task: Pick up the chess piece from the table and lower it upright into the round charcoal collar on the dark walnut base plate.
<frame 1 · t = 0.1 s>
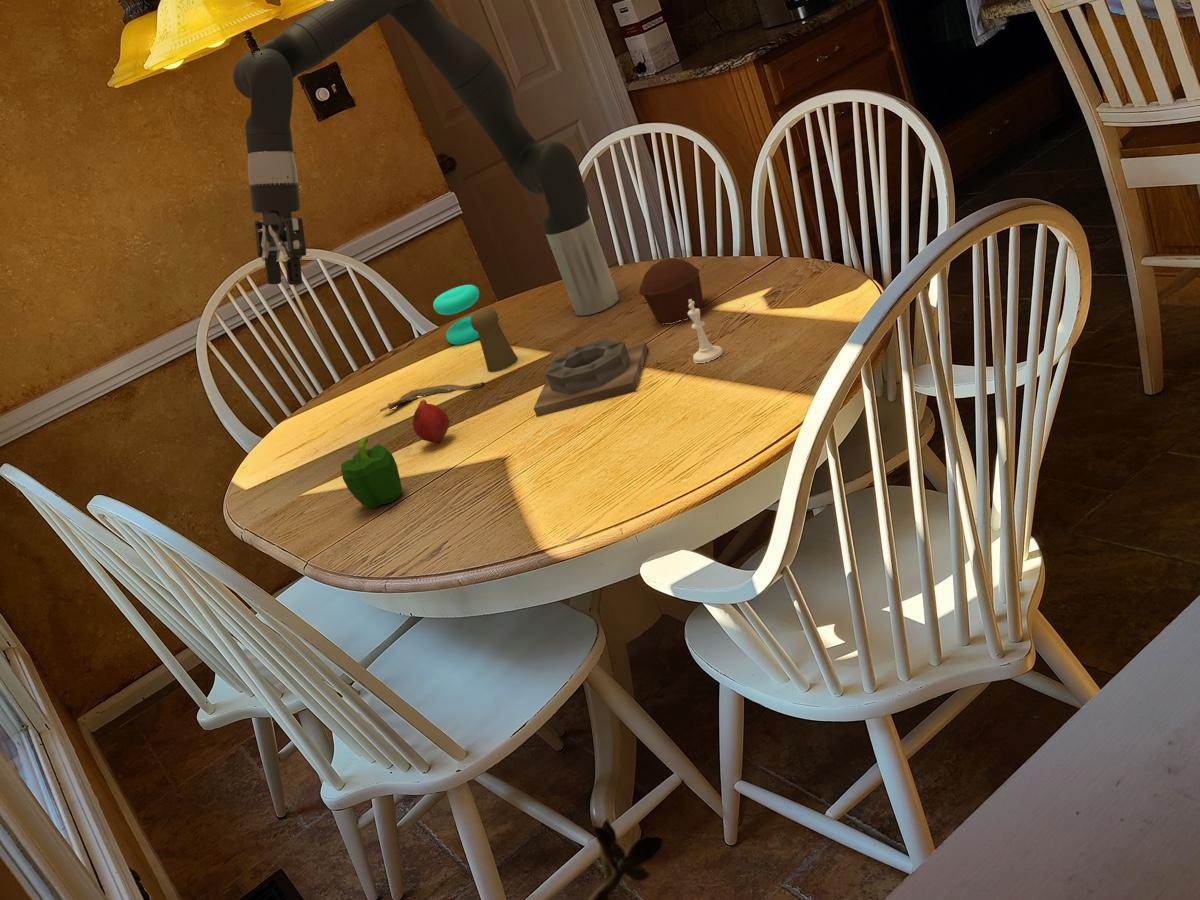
hand: (284, 284, 181), 31 cm above the table, tool tilted 20°, fingers open, 8 cm apart
muffin: (680, 315, 200), on the table
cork: (503, 365, 209), on the table
donuts: (472, 337, 233), on the table
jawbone: (433, 403, 205), on the table
onion: (440, 443, 184), on the table
collar socket: (593, 381, 185), on the table
chess piece: (708, 357, 177), on the table
bell pepper: (386, 500, 171), on the table
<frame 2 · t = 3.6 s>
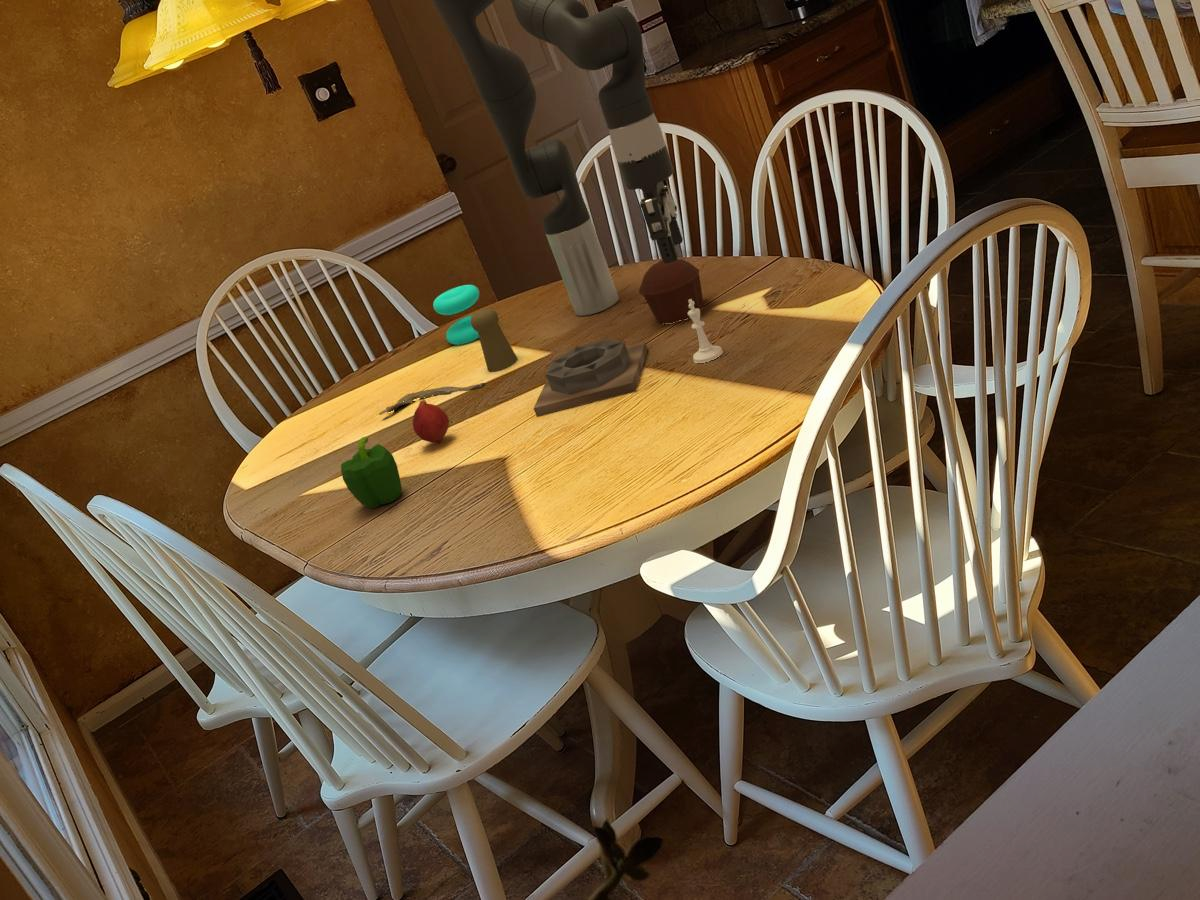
hand: (674, 252, 170), 18 cm above the table, tool pointing down, fingers open, 8 cm apart
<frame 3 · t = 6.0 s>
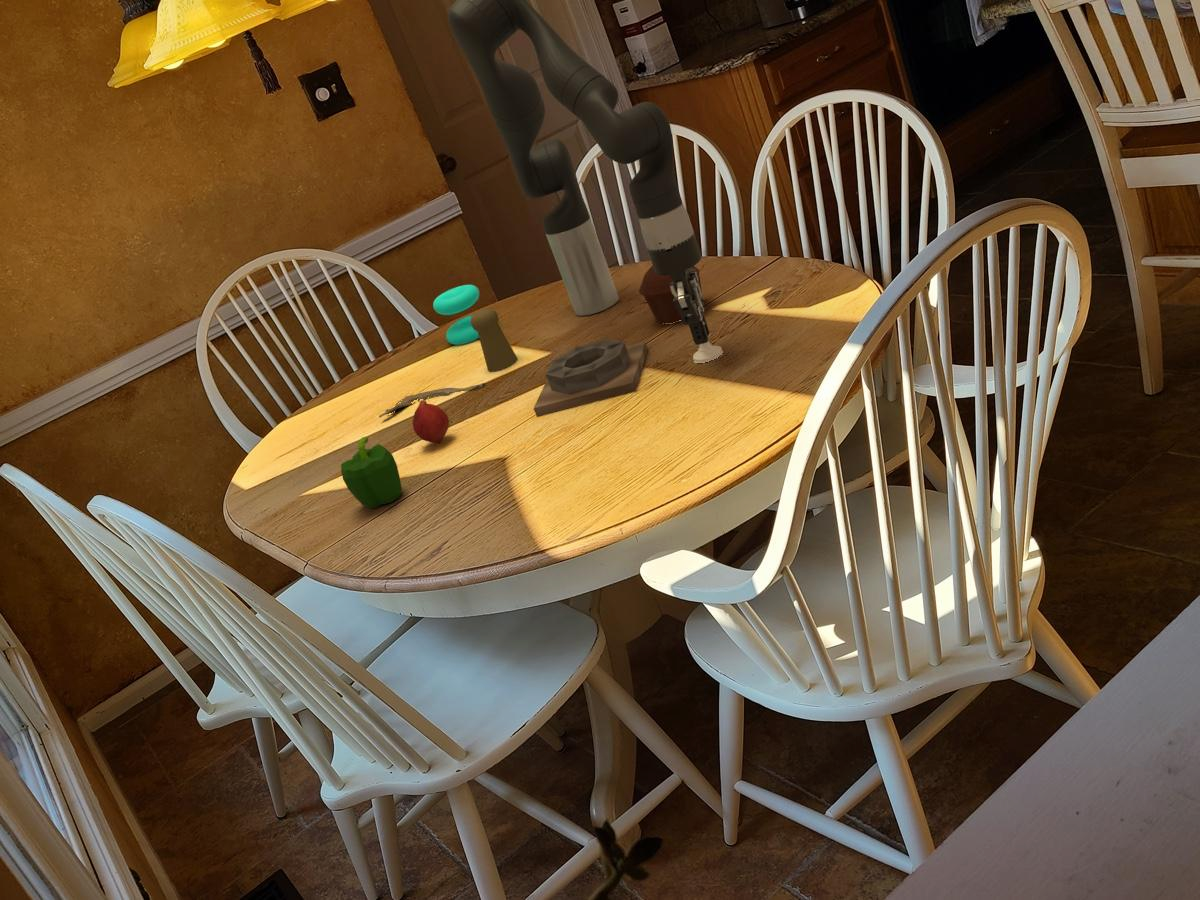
hand: (702, 339, 176), 3 cm above the table, tool pointing down, fingers closed on chess piece
chess piece: (708, 357, 177), on the table, touching gripper
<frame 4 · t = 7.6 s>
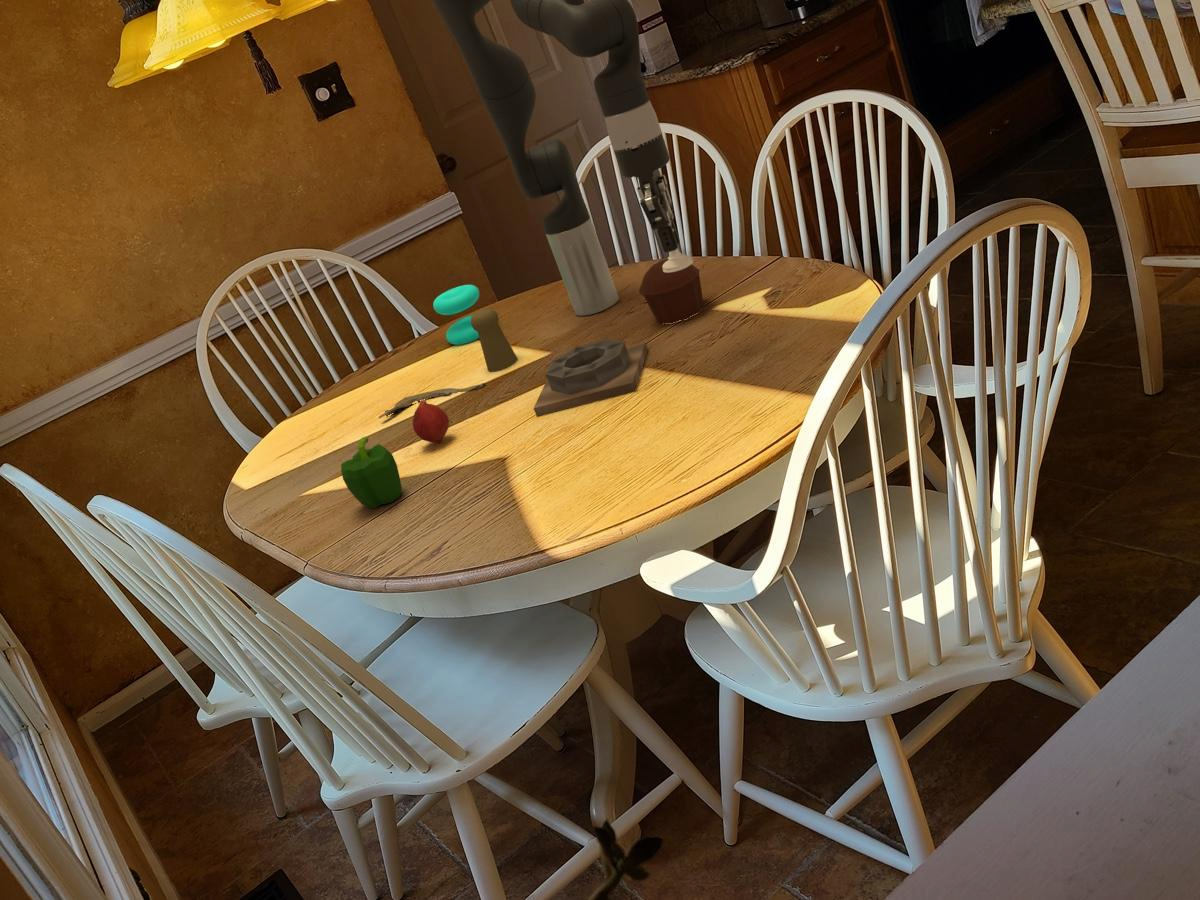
hand: (672, 247, 170), 19 cm above the table, tool pointing down, fingers closed on chess piece
chess piece: (678, 267, 171), point 15 cm above the table, touching gripper
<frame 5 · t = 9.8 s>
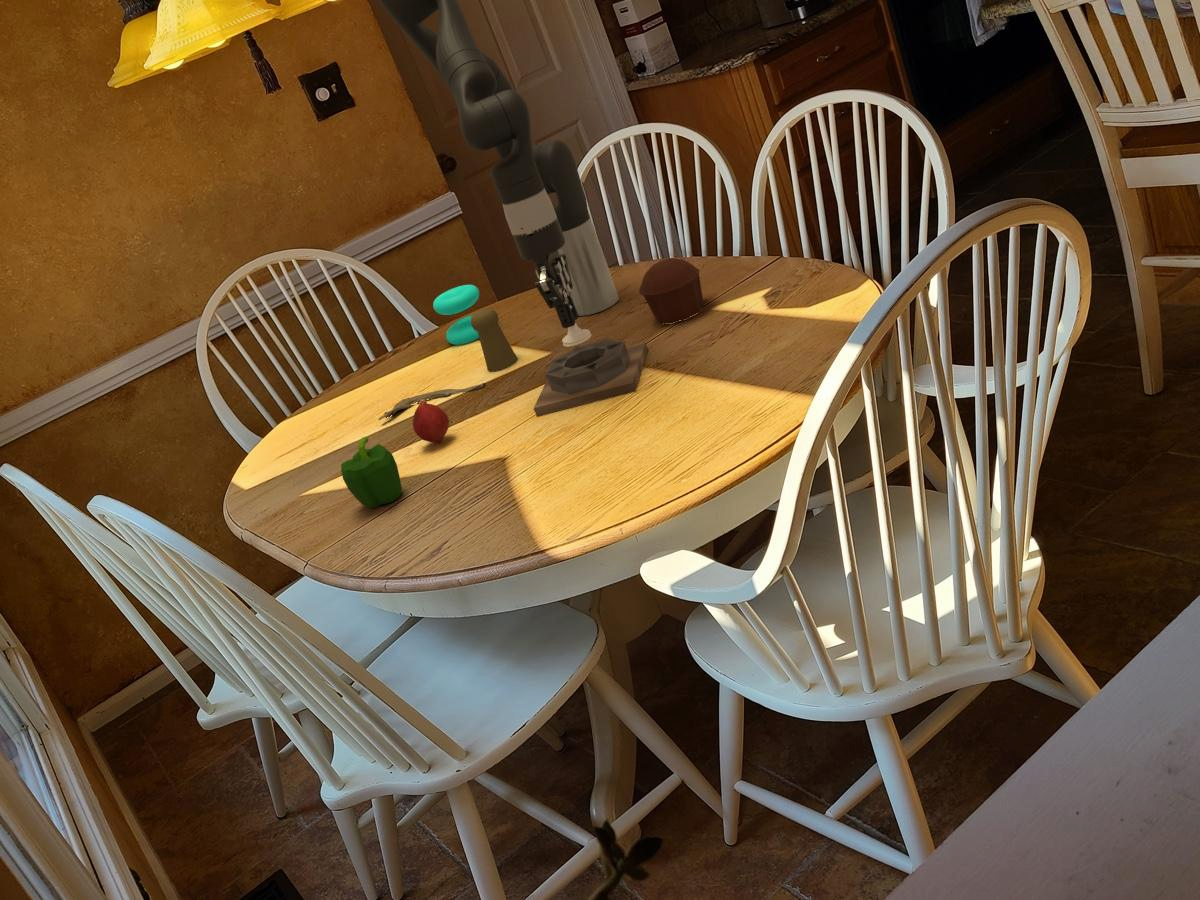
hand: (571, 322, 181), 11 cm above the table, tool pointing down, fingers closed on chess piece
chess piece: (577, 340, 182), point 8 cm above the table, touching gripper
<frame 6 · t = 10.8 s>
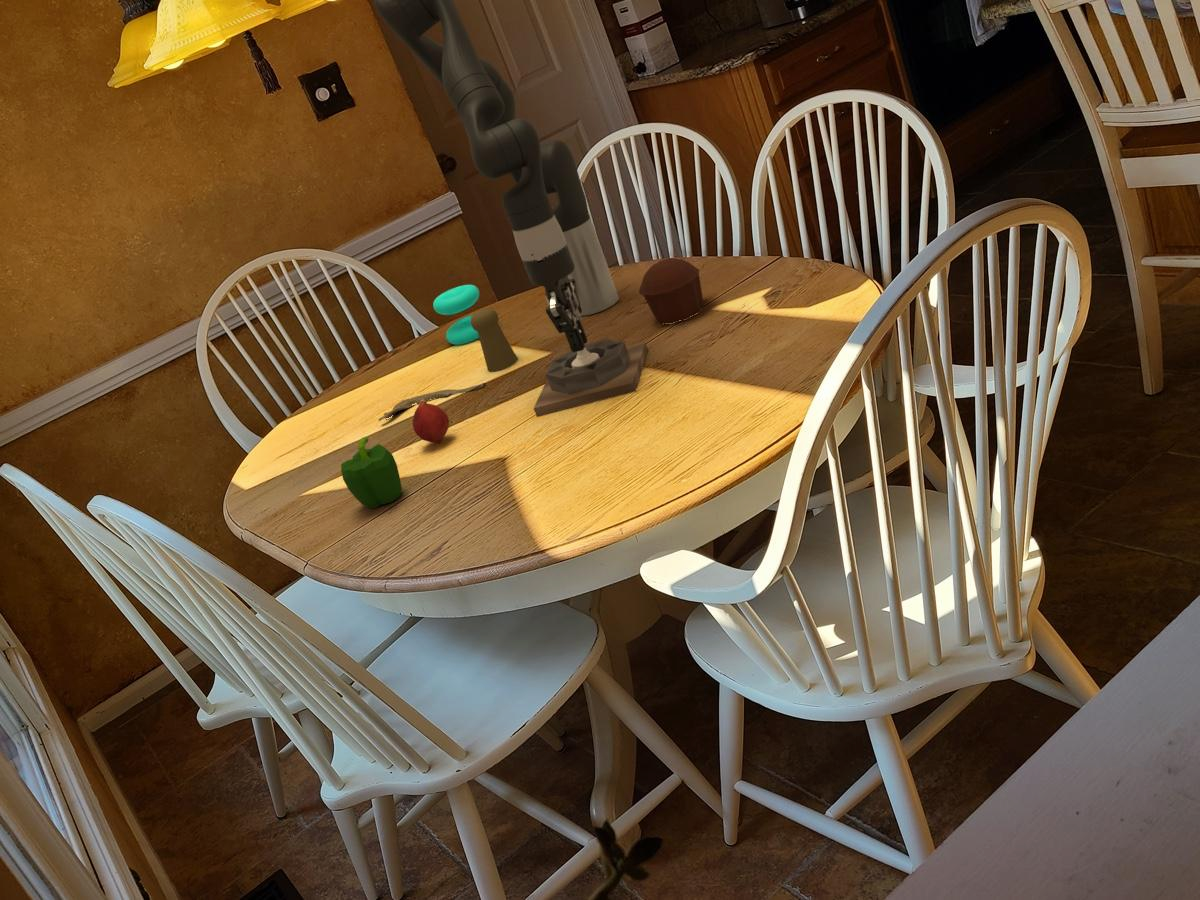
hand: (580, 346, 182), 7 cm above the table, tool pointing down, fingers closed on chess piece
chess piece: (586, 364, 184), point 3 cm above the table, touching gripper
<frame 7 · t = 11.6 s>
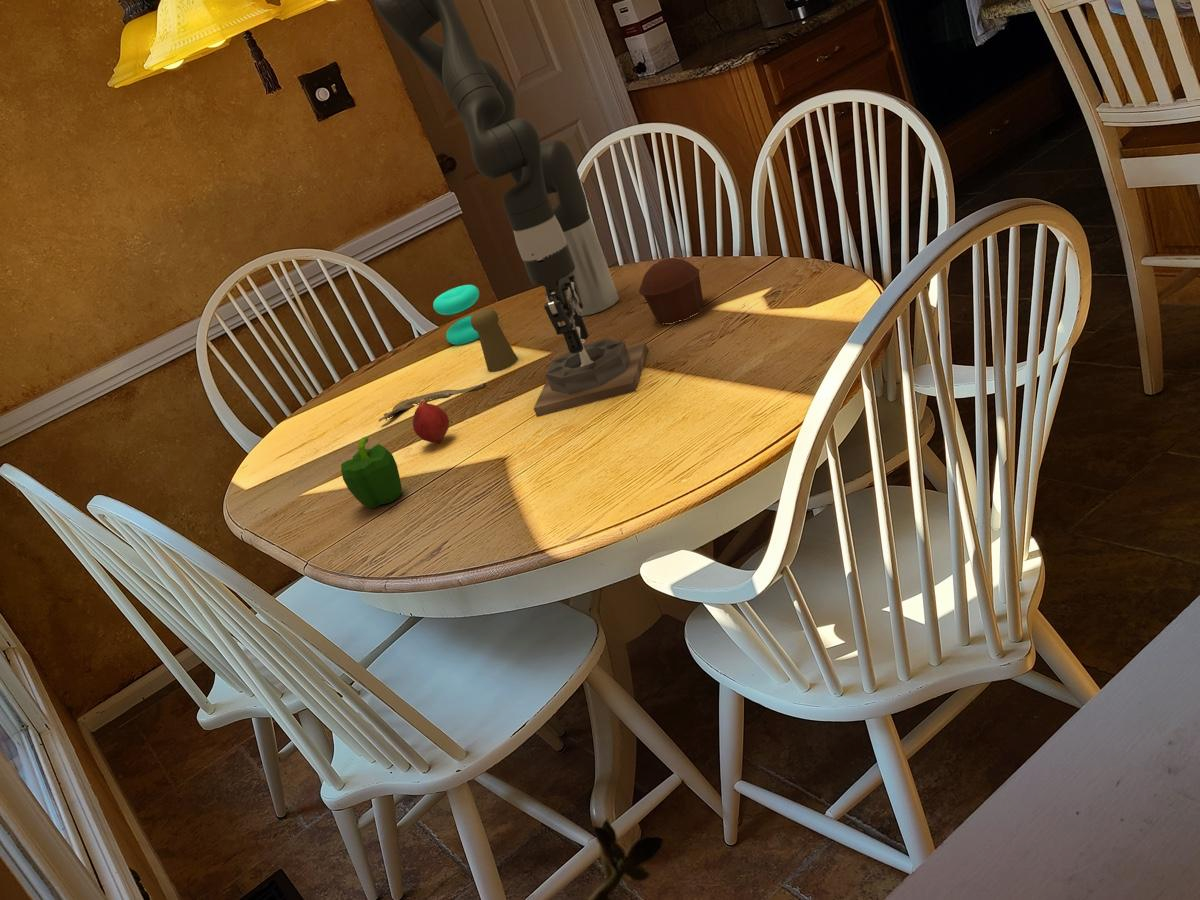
hand: (580, 345, 182), 7 cm above the table, tool pointing down, fingers open, 4 cm apart
chess piece: (590, 374, 184), point 1 cm above the table, touching collar socket
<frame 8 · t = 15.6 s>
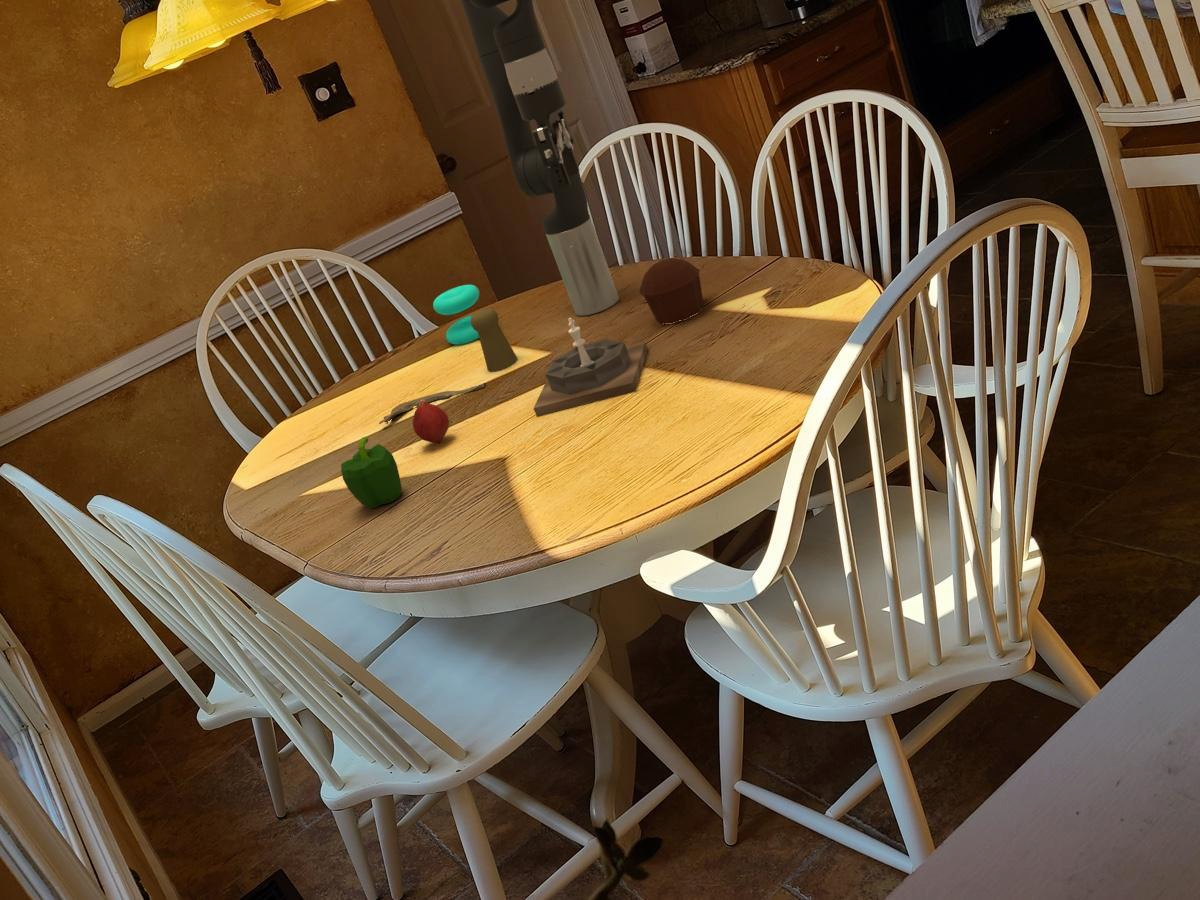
hand: (569, 181, 184), 30 cm above the table, tool pointing down, fingers open, 8 cm apart
at the end: chess piece 0.1 cm off-centre on the collar socket, point 1.5 cm above the collar socket's base; chess piece tilted 0°; the gripper is holding nothing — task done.
